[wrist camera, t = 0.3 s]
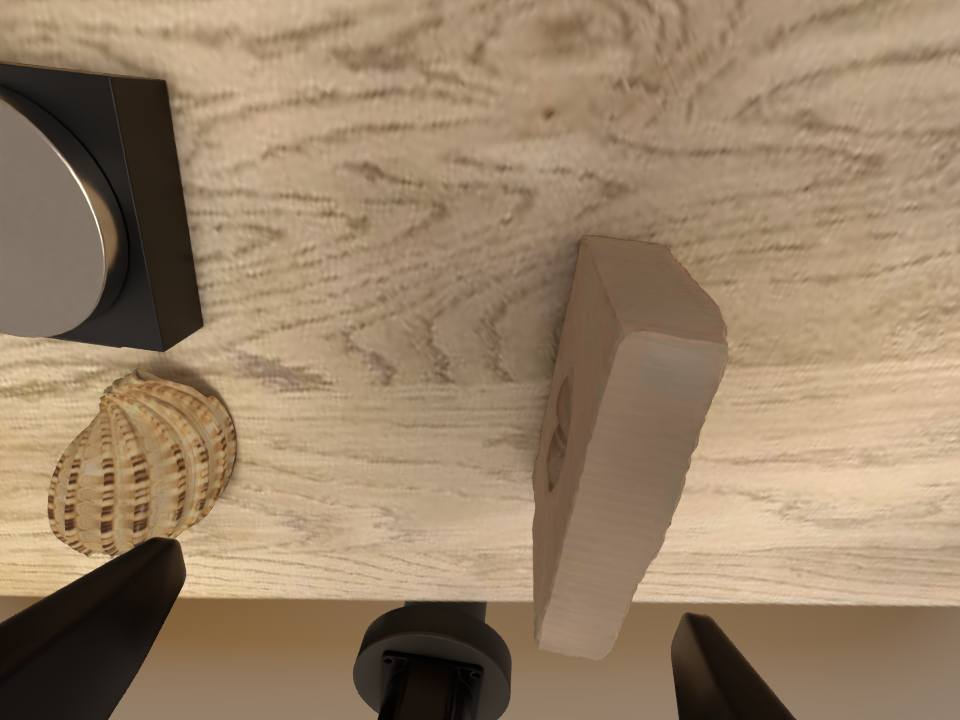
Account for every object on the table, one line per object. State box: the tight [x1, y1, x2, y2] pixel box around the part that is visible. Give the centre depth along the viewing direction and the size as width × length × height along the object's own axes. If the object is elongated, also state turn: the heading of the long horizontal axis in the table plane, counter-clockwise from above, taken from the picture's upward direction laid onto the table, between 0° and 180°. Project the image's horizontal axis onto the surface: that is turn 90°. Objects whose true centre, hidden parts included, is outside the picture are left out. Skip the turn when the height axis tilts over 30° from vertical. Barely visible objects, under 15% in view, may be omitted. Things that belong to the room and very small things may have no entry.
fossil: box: [532, 235, 728, 661], centre depth 18 cm, size 12×4×10 cm, turn 174°
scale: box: [0, 61, 203, 352], centre depth 20 cm, size 10×10×4 cm
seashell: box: [48, 369, 236, 558], centre depth 25 cm, size 8×6×10 cm
